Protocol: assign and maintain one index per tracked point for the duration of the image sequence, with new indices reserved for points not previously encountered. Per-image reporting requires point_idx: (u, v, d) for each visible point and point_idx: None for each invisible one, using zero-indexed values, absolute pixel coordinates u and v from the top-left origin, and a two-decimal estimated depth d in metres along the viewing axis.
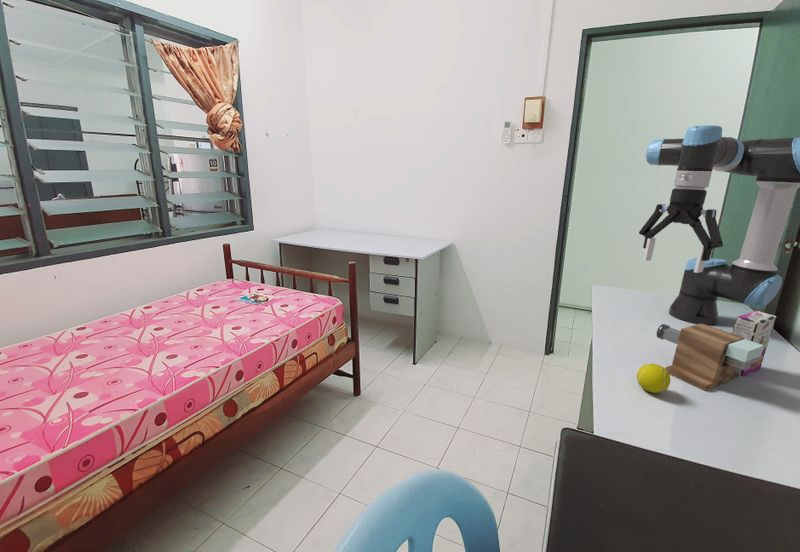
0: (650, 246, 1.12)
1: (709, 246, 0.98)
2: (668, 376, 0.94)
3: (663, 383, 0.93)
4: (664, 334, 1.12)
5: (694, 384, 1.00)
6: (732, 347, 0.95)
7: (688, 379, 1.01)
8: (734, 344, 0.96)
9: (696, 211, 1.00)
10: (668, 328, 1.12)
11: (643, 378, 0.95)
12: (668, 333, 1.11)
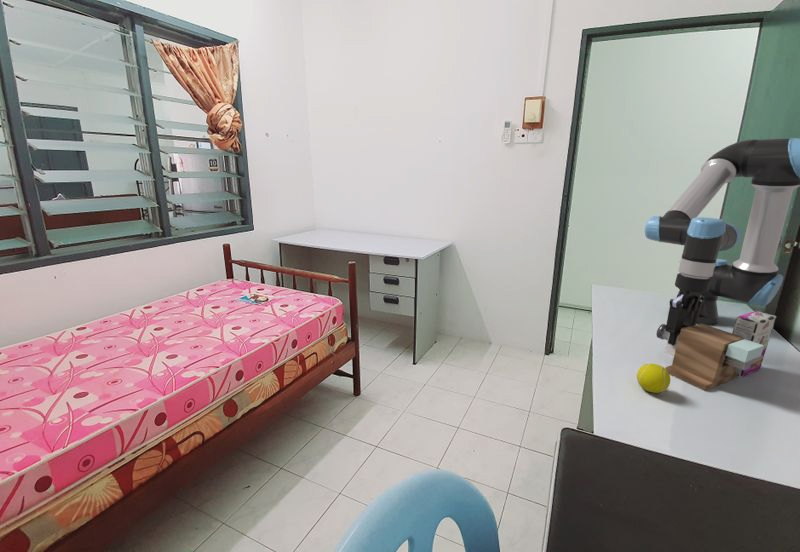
0: None
1: None
2: (668, 376, 0.94)
3: (663, 383, 0.93)
4: (664, 334, 1.12)
5: (694, 384, 1.00)
6: (732, 347, 0.95)
7: (688, 379, 1.01)
8: (734, 344, 0.96)
9: None
10: None
11: (643, 378, 0.95)
12: (668, 333, 1.11)
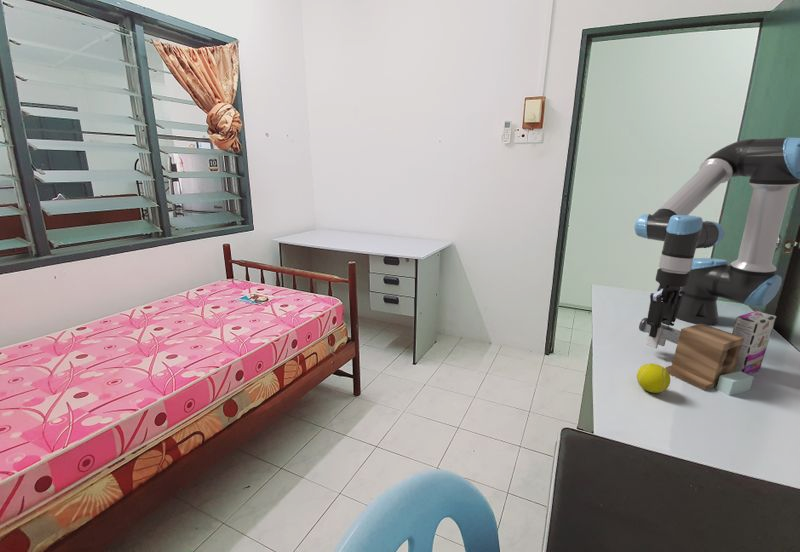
0: None
1: None
2: (668, 376, 0.94)
3: (663, 383, 0.93)
4: (646, 327, 1.16)
5: (694, 384, 1.00)
6: (730, 383, 0.96)
7: (688, 379, 1.01)
8: (735, 383, 0.96)
9: None
10: None
11: (643, 378, 0.95)
12: (650, 326, 1.15)
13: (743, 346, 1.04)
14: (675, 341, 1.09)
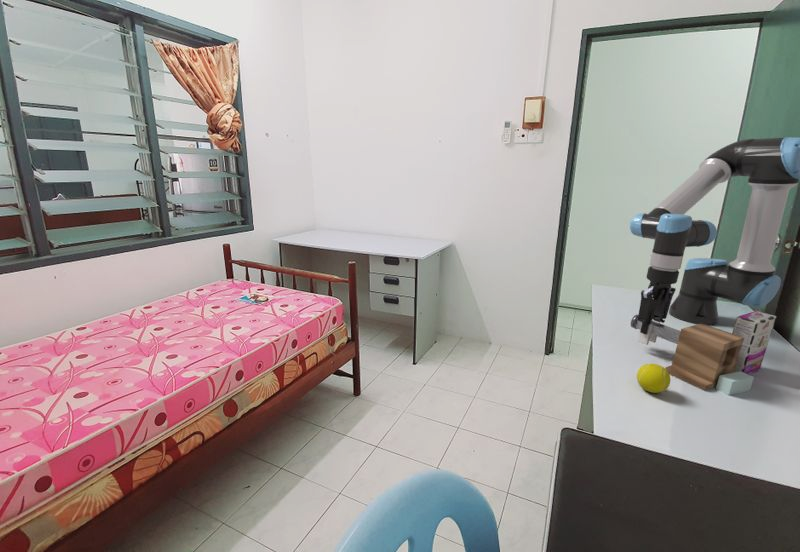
0: None
1: None
2: (668, 376, 0.94)
3: (663, 383, 0.93)
4: (637, 324, 1.18)
5: (694, 384, 1.00)
6: (729, 383, 0.96)
7: (688, 379, 1.01)
8: (735, 383, 0.96)
9: None
10: None
11: (643, 378, 0.95)
12: (641, 323, 1.17)
13: (743, 346, 1.04)
14: (665, 337, 1.12)
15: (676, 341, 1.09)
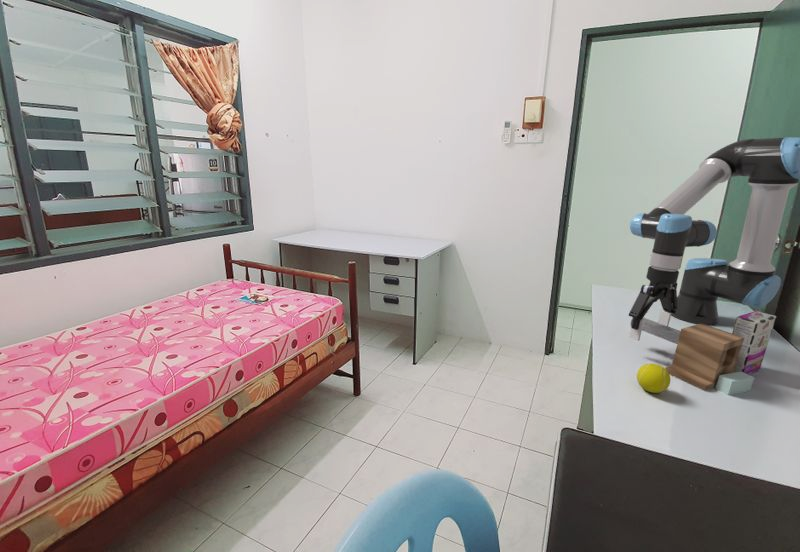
0: (662, 318, 1.20)
1: None
2: (668, 376, 0.94)
3: (663, 383, 0.93)
4: None
5: (694, 384, 1.00)
6: (729, 383, 0.96)
7: (688, 379, 1.01)
8: (735, 383, 0.96)
9: None
10: None
11: (643, 378, 0.95)
12: None
13: (743, 346, 1.04)
14: (665, 337, 1.12)
15: (676, 341, 1.09)
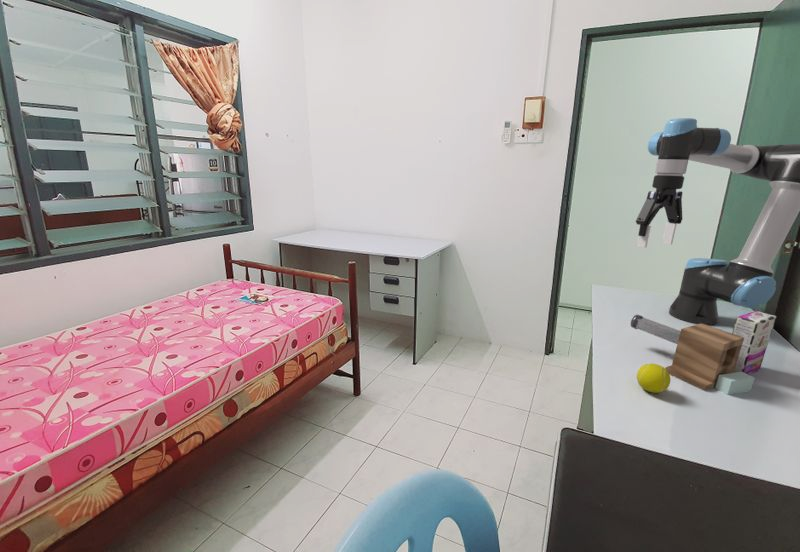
0: (667, 229, 1.22)
1: None
2: (668, 376, 0.94)
3: (663, 383, 0.93)
4: (637, 324, 1.19)
5: (694, 384, 1.00)
6: (728, 383, 0.96)
7: (688, 379, 1.01)
8: (734, 382, 0.96)
9: None
10: (641, 318, 1.19)
11: (643, 378, 0.95)
12: (641, 323, 1.17)
13: (743, 346, 1.04)
14: (665, 337, 1.12)
15: (676, 341, 1.09)
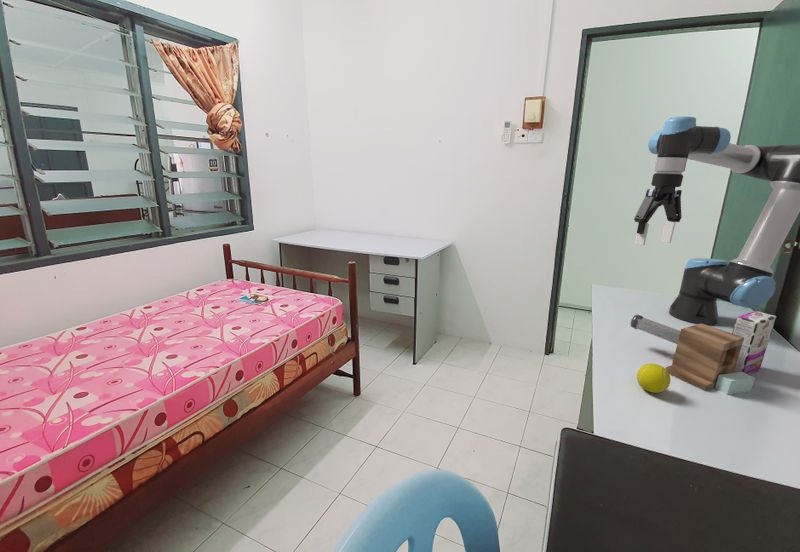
0: (666, 228, 1.23)
1: None
2: (668, 376, 0.94)
3: (663, 383, 0.93)
4: (637, 324, 1.19)
5: (694, 384, 1.00)
6: (728, 383, 0.96)
7: (688, 379, 1.01)
8: (734, 382, 0.96)
9: None
10: (641, 318, 1.19)
11: (643, 378, 0.95)
12: (641, 323, 1.17)
13: (743, 346, 1.04)
14: (665, 337, 1.12)
15: (676, 341, 1.09)
